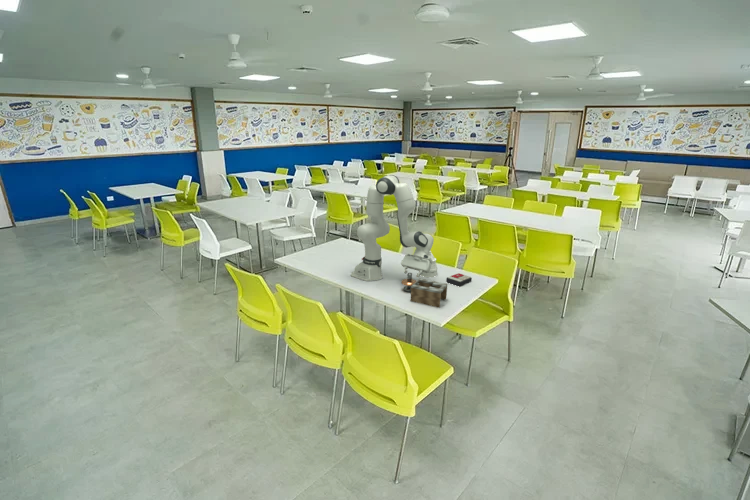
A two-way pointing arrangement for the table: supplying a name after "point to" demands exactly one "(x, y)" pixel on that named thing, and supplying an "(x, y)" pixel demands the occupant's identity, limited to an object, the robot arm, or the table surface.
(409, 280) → the spinning top
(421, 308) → the table surface
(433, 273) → the white ridged cone
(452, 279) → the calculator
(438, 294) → the wood and metal frame
